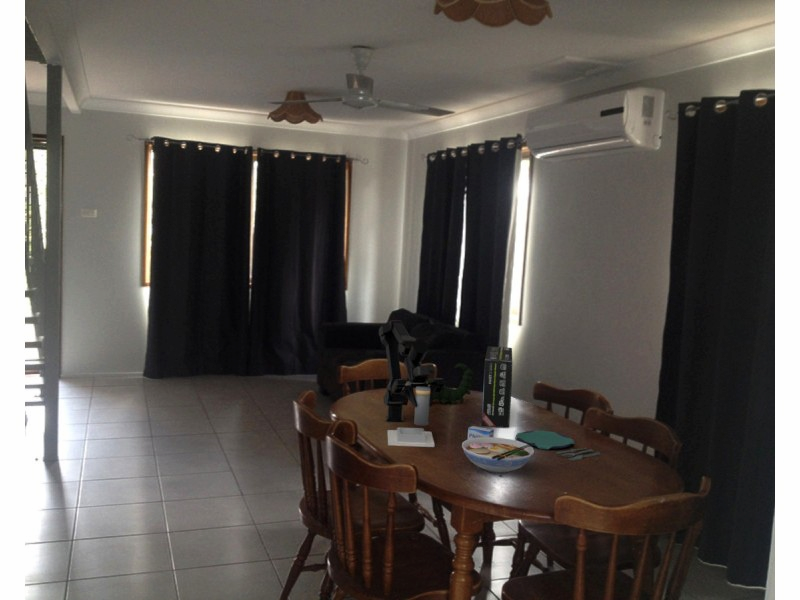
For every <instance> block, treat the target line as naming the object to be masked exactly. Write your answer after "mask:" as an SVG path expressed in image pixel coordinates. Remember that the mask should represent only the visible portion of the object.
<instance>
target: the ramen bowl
mask: <svg viewBox="0 0 800 600" xmlns="http://www.w3.org/2000/svg"><path fill="white" fill-rule="evenodd" d="M467 439H468V438H467ZM467 439H466V440H464V441H463V442H462V443H461V448H462V449H463V452H464V454H465V455H466V457H467V459H468V460H469V461H471V463H472V464H474V465H475V466H477V467H478V468H481V469H483V470H486V471H487V472H489V473H493V474H505V473H508V472H511V471H512V472H513V471H516V470H518V469H520V468H522V467H524V465H526V464H527V463H528V462H529V461H530V459H531V458H532V457H533V456H534V453H535V449H534V447H533V446H531V444H532V445H534V444H536V443H534V444H533V443H531V444H525V443H523V442H521V441H520V440H519V441H518V440H516V439H515V440H514V439H511V438H504V437H494V436H493V437H479V438H473V439H468V440H467Z"/></svg>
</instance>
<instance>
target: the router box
mask: <svg viewBox="0 0 800 600" xmlns="http://www.w3.org/2000/svg"><path fill="white" fill-rule="evenodd" d="M484 358H485V359H484V368H483V369H484V370H483V372H484V373H483V386H482V390H483V391H482V407H481V409H482V411H481V413H482V415H481V426H485V427H493V428H506V427H507V429H508V428H509V429H510V421H511V420H510V419H511V408H512V407H511V406H512V404H511V403H512V385H513V383H512V382H513V348H512V347H506V346H505V347H504V346H495V345H494V346H493V345H491V346H490V345H489V346H487V349H486V353H485V357H484Z"/></svg>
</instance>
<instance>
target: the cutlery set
mask: <svg viewBox="0 0 800 600" xmlns="http://www.w3.org/2000/svg"><path fill="white" fill-rule="evenodd" d="M514 439H515V440H516V439H517V440H519V442H522V443H525V444H531V443H533V444H534V443H536V444H534V445H532V444H531V447H535V448H538V449H540V450H550V449H555V450H557V449H564V448H567V447H571V446H573V447H575V440H574V439H573V438H571V437H568V436H566V435H563V434H560V433H557V432H555V431H549V430H541V429H540V430H539V429H537V430H529V431H528V430H527V431H523V432H517V433H516V435H515V437H514ZM581 450H583V451H581ZM577 451H578V452H577ZM579 451H580V452H579ZM574 452H576V453H574ZM585 453H590V454H587V455H583V454H585ZM601 454H602V452H600V451H598V452H594V449H592V448H591V449H587V447H583V448H577V449H575V448H571V449H570V450H563V451H558V452H556V453H555V455H561V456H562V457H564V458H569V461H577V460H582V459H583V458H590V457H596V456H601Z"/></svg>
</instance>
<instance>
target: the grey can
mask: <svg viewBox="0 0 800 600" xmlns="http://www.w3.org/2000/svg"><path fill="white" fill-rule="evenodd" d="M414 395H415V398H416V402H417V407H415V406H414V415H413V416H414V418H413V419H414V421H413V424H414V425H416V426H421V427H423V426H428V425H429V418H430V407H429V402H430V387H427V386H417V387H416V389H415V392H414Z"/></svg>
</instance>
